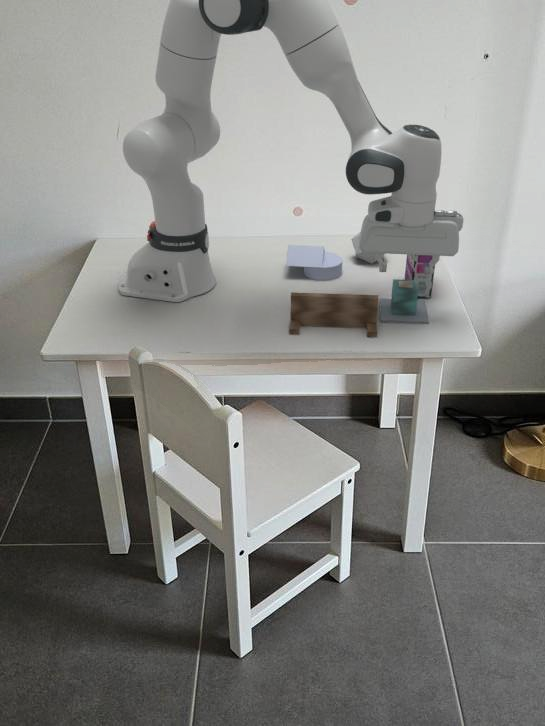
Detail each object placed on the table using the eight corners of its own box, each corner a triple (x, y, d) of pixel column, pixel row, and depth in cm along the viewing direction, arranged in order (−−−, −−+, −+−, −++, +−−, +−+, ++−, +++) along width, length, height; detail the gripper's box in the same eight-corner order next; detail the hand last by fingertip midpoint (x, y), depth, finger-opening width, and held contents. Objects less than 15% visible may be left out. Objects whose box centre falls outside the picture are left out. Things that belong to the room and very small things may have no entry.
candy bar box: (432, 298, 164) (440, 230, 155) (410, 298, 164) (417, 229, 155) (425, 277, 173) (432, 210, 165) (404, 277, 174) (410, 210, 165)
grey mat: (380, 322, 155) (381, 320, 155) (379, 300, 164) (379, 298, 163) (428, 323, 154) (428, 321, 154) (424, 301, 163) (425, 299, 163)
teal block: (392, 314, 157) (394, 288, 154) (391, 304, 161) (393, 278, 158) (415, 315, 156) (418, 289, 153) (414, 304, 161) (416, 279, 157)
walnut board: (289, 334, 151) (289, 304, 148) (291, 321, 156) (291, 292, 152) (376, 337, 150) (379, 307, 146) (376, 324, 154) (378, 295, 151)
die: (393, 263, 182) (388, 225, 183) (381, 258, 174) (376, 218, 175) (362, 269, 186) (358, 232, 186) (350, 265, 178) (345, 226, 179)
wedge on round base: (285, 278, 174) (340, 281, 172) (285, 252, 170) (341, 255, 169) (290, 262, 181) (342, 265, 180) (290, 237, 178) (343, 239, 176)
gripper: (462, 205, 149) (453, 267, 156) (361, 201, 150) (357, 263, 158) (467, 217, 143) (457, 280, 151) (362, 213, 145) (357, 276, 152)
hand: (405, 271), depth 154 cm, fingers open, 8 cm apart
